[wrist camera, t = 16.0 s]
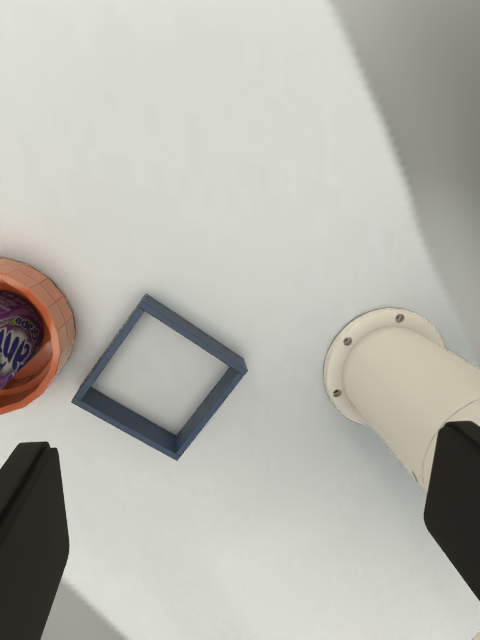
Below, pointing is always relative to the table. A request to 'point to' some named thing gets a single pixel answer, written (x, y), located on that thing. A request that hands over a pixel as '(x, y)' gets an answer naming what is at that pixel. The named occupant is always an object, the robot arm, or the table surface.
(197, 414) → the blue square frame
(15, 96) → the table surface
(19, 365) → the beverage can
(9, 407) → the bowl
